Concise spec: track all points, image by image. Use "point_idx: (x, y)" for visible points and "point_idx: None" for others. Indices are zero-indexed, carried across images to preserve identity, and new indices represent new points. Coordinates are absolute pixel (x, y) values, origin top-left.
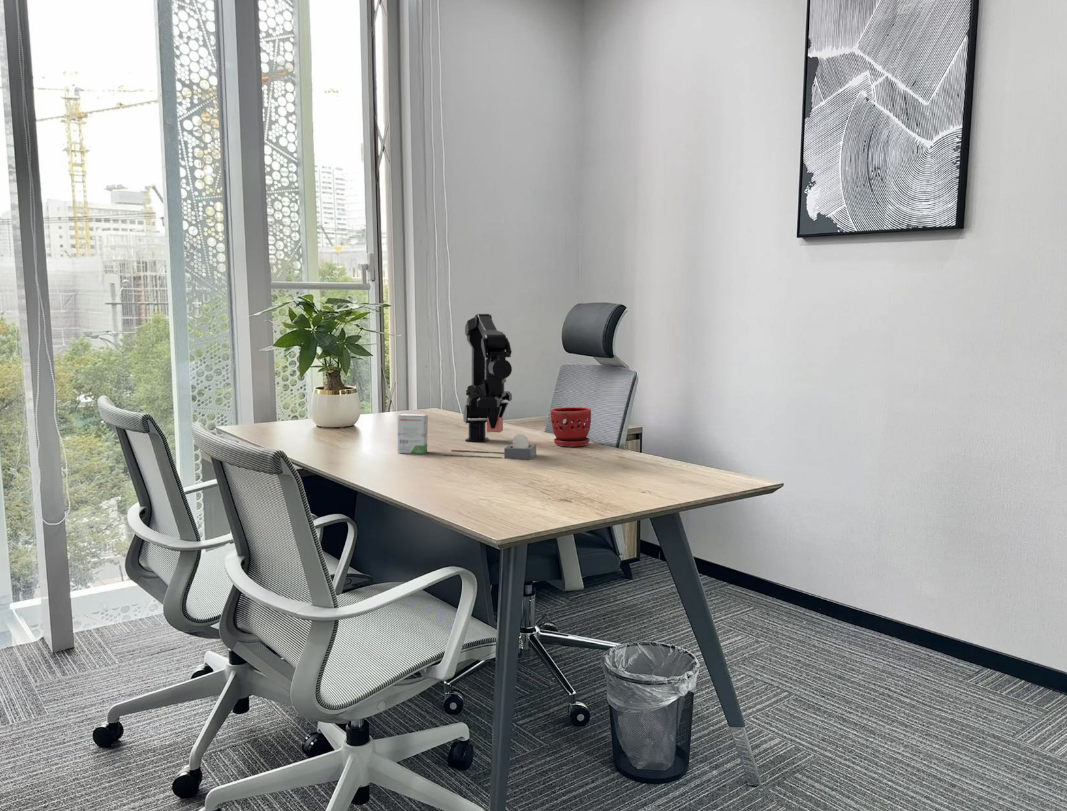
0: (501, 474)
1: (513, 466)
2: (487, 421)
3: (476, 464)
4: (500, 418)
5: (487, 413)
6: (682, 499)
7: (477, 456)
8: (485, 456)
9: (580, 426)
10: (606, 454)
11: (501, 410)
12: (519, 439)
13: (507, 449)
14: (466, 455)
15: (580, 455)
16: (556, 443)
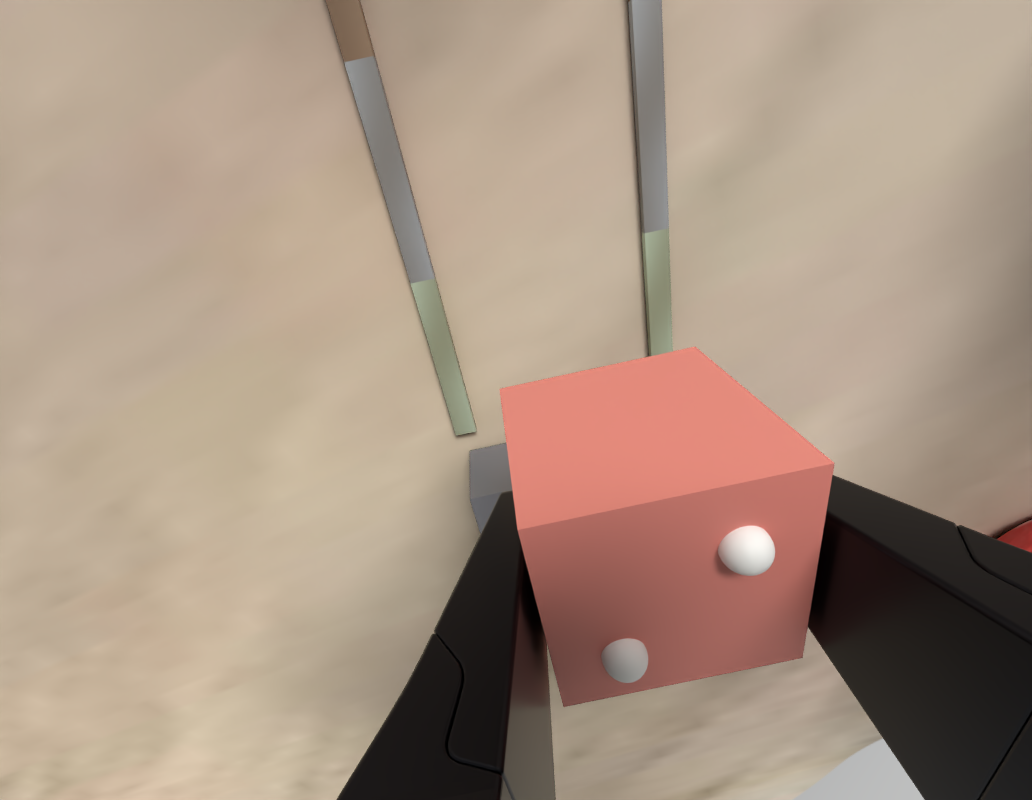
0: (9, 643)
1: (258, 599)
2: (514, 505)
3: (126, 389)
4: (675, 676)
5: (365, 768)
6: None
7: (399, 243)
8: (425, 316)
9: None
10: (762, 746)
11: (957, 790)
12: None
13: (476, 512)
14: (372, 110)
15: (712, 695)
16: (1007, 539)
